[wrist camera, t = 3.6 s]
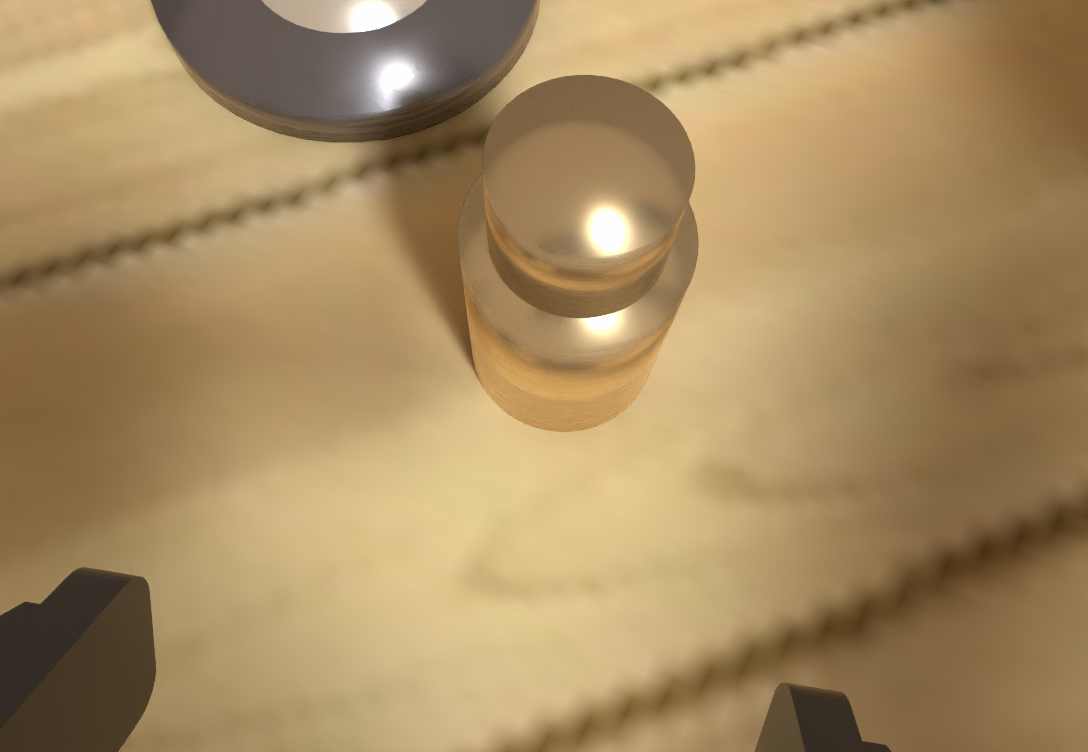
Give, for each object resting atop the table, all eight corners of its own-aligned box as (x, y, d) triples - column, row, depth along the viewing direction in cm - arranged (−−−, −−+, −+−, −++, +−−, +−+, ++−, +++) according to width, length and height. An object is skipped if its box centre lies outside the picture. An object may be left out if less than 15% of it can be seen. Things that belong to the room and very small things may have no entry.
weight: (640, 446, 25) (715, 310, 16) (455, 414, 25) (421, 262, 16) (662, 279, 27) (740, 71, 18) (490, 250, 27) (477, 29, 18)
